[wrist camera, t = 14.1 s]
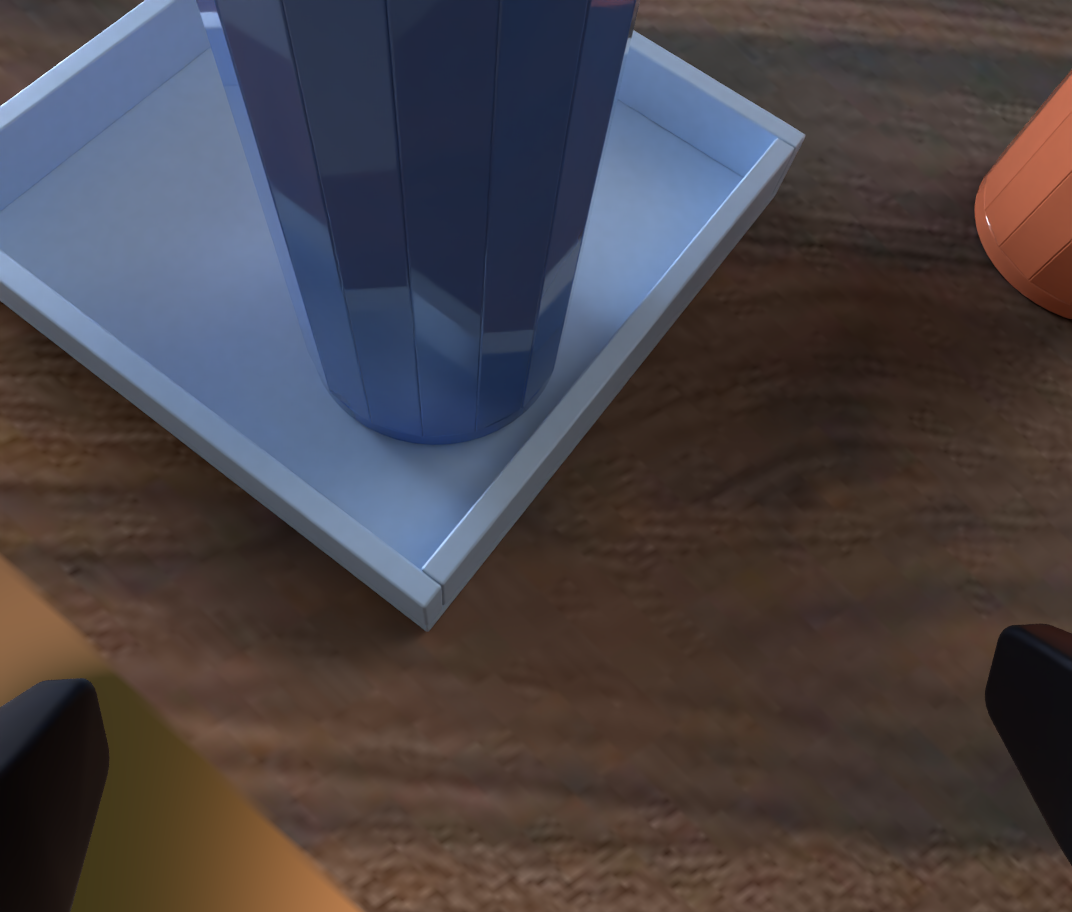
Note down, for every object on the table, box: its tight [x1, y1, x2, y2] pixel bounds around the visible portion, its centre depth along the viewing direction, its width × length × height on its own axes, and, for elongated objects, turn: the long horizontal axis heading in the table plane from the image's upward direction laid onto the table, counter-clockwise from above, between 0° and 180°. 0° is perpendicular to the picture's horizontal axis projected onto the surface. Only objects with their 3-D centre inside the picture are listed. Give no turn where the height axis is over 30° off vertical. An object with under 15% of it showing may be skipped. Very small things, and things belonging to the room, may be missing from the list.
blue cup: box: [196, 0, 640, 445], centre depth 17 cm, size 6×6×13 cm
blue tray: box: [0, 0, 805, 632], centre depth 23 cm, size 16×16×3 cm
